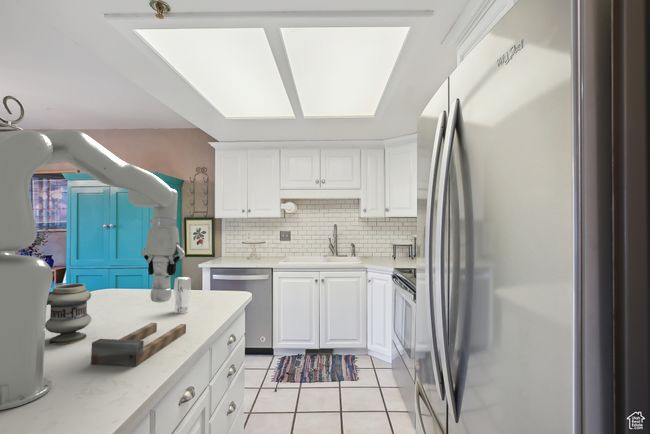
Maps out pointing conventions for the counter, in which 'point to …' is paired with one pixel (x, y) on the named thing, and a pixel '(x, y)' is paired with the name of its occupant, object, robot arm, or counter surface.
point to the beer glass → (182, 294)
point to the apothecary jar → (68, 313)
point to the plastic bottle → (161, 279)
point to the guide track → (132, 346)
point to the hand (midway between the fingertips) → (161, 274)
